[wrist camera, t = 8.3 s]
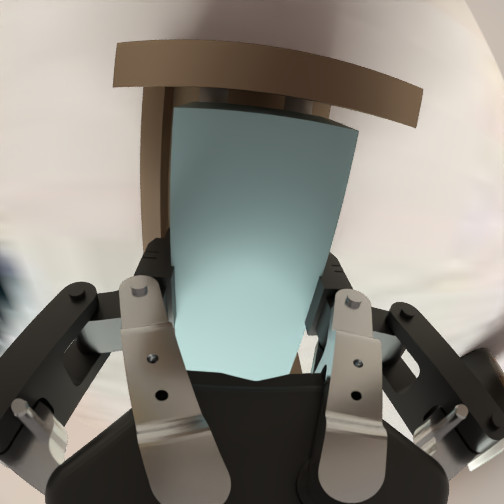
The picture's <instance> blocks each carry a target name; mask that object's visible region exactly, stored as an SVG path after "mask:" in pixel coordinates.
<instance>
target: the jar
mask: <svg viewBox="0 0 504 504" xmlns="http://www.w3.org/2000/svg"><path fill="white" fill-rule="evenodd" d="M461 359H462V361H463V362H464V363H465V364H466V365H467V367H468V368H469V369H470V370H471V371H472V373H473V374H474V375H475V376H476V378H477V379H478V380H479V381H480V383H481V384H482V385H483V386H484V388H485V389H486V390H487V392H488V393H489V394H490V395H491V397H492V398H493V399H494V401H495V402H496V403H497V405H498V406H499V407H500V409H501V410H502V412H503V413H504V372H503V371H502V369H501V367H500V366H499V364H498V363H497V361H496V359H495V358H494V356H493V355H492V353H491V352H490V350H489V349H487V348H481V349H478V350H475V351H473V352H471V353H469V354H467V355H465V356H464V357H462V358H461ZM503 450H504V438H503V439H502V440H500V441H499V442H498V443H497V444H495V445H494V446H493V447H491V448H490V449H489V450H487V451H486V452H485V453H483V454H482V455H480V456H479V457H477V458H476V459H475V460H473V461H472V462H470V463H469V464H467V465H468V467H469V470H470V471H472V470H474V469H476V468H478V467H479V466H481V465H483V464H484V463H486V462H488V461H489V460H491V459H492V458H493V457H495V456H496V455H498V454H499V453H501V452H502V451H503Z"/></svg>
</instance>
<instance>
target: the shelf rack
mask: <svg viewBox="0 0 504 504" xmlns="http://www.w3.org/2000/svg"><path fill="white" fill-rule="evenodd" d="M144 86H155V87H144ZM113 87H143V101H142V118H141V147H140V189H141V219H142V237H143V251H144V252H145V250H146V247H147V245H148V243H150V242H151V241H152V240H154V239H155V238H165V235H166V233H167V231H168V228H169V227H170V176H171V147H172V128H173V113H174V107H177V106H180V105H184V104H187V103H190V102H193V101H197V102H215V103H229V104H240V105H250V106H259V107H267V108H274V109H282V110H288V111H295V112H301V113H306V114H312V115H317V116H321V117H324V118H327V119H328V118H329V112H330V107H331V105H333V106H338V107H342V108H346V109H351V110H355V111H359V112H363V113H367V114H370V115H374V116H378V117H381V118H385V119H388V120H392V121H395V122H398V123H402V124H405V125H408V126H411V127H414V128H416V126H417V121H418V116H419V111H420V106H421V100H422V95H423V89H422V88H419V87H417V86H415V85H412V84H410V83H407V82H405V81H402V80H399V79H397V78H394V77H391V76H389V75H386V74H383V73H380V72H377V71H374V70H371V69H368V68H365V67H361V66H358V65H355V64H351V63H348V62H344V61H340V60H337V59H333V58H329V57H325V56H320V55H316V54H311V53H307V52H302V51H297V50H291V49H286V48H280V47H273V46H266V45H259V44H251V43H241V42H230V41H215V40H147V41H133V42H122V43H117V48H116V57H115V67H114V78H113ZM173 329H174V332H175V327H174V328H173ZM289 374H302V370H301V366H300V361H299V356H298V352H297V354H296V357H295V360H294V362H293V365H292V368H291V370H290V373H289Z"/></svg>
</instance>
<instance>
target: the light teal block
mask: <svg viewBox="0 0 504 504" xmlns="http://www.w3.org/2000/svg"><path fill="white" fill-rule="evenodd" d="M358 132H359V131H358V130H355V129H353V128H350V127H348V126H345V125H343V124H340V123H338V122H335V121H332V120H330V119H327V118H324V117H321V116H317V115H312V114H306V113H301V112H295V111H288V110H282V109H274V108H267V107H259V106H250V105H240V104H229V103H215V102H197V101H193V102H190V103H187V104H184V105H180V106H177V107H174V113H173V128H172V147H171V176H170V247H171V266H175V295H176V315H177V316H176V322H175V336H176V339H177V342H178V345H179V349H180V352H181V355H182V358H183V361H184V364H185V367H186V370H192V371H205V372H221V373H224V374H228V375H232V376H236V377H240V378H244V379H248V380H253V381H260V380H265V379H269V378H274V377H278V376H283V375H287V374H289V373H290V370H291V368H292V365H293V362H294V360H295V357H296V354H297V351H298V349H299V346H300V343H301V340H302V337H303V334H304V331H305V328H306V326H305V320H306V317H307V314H308V311H309V308H310V305H311V302H312V298H313V295H314V292H315V289H316V286H317V282H318V279H319V276H322V275H323V272H324V269H325V265H326V262H327V259H328V255H329V252H330V248H331V245H332V241H333V237H334V234H335V230H336V226H337V223H338V219H339V215H340V211H341V207H342V203H343V199H344V195H345V191H346V187H347V183H348V178H349V174H350V170H351V165H352V161H353V156H354V152H355V147H356V142H357V137H358Z"/></svg>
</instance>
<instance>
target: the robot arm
mask: <svg viewBox="0 0 504 504" xmlns="http://www.w3.org/2000/svg"><path fill="white" fill-rule="evenodd" d="M176 316H177V315H176V295H175V266H171V247H170V227H169V228H168V231H167V233H166V235H165V238H155V239H154V240H152V241H151V242H150V243H148V245H147V247H146V250H145V252H144V254H143V256H142V258H141V261H140V263H139V265H138V267H137V269H136V272H135V274H134V276H133V277H130V278H127V279H126V280H124V281H123V282H122V283H121V285H120V287H119V290H118V291H114V292H107V293H99V294H97V291H96V288H95V287H94V286H93V285H92V284H90V283H87V282H76V283H72V284H70V285H68V286H66V287H65V288H64V289H63V290H62V291H61V292H60V293H59V294H58V295H57V296H56V297H55V298H54V299H53V300H52V301H51V302H50V303H49V304H48V305H47V306H46V307H45V308H44V309H43V310H42V311H41V312H40V313H39V314H38V315H37V316H36V318H35V319H34V320H33V321H32V322H31V323H30V324H29V325H28V326H27V327H26V328H25V330H24V331H23V332H22V333H21V334H20V335H19V336H18V337H17V339H16V340H15V341H14V342H13V343H12V344H11V346H10V347H9V348H8V349H7V350H6V351H5V353H4V354H3V355H2V356H1V357H0V463H1V464H3V465H4V466H6V467H8V468H10V469H12V470H13V471H14V472H15V473H16V474H17V475H19V476H20V477H21V478H22V479H24V480H25V481H26V482H28V483H29V484H30V485H31V486H33V487H34V488H35V489H37V490H38V491H40V492H41V493H42V494H44V495H45V503H46V504H447V501H448V495H449V481H450V480H451V479H452V478H453V477H454V476H455V475H456V474H458V473H459V472H460V471H461V470H462V469H463V468H464V467H465V466H466V465H467V464H469V463H470V462H472V461H473V460H475V459H476V458H477V457H479V456H480V455H482V454H483V453H485V452H486V451H487V450H489V449H490V448H491V447H493V446H494V445H495V444H497V443H498V442H499V441H500V440H502V439H503V438H504V413H503V412H502V410H501V409H500V407H499V406H498V405H497V403H496V402H495V401H494V399H493V398H492V397H491V395H490V394H489V393H488V392H487V390H486V389H485V388H484V386H483V385H482V384H481V383H480V381H479V380H478V379H477V378H476V376H475V375H474V374H473V373H472V371H471V370H470V369H469V368H468V367H467V365H466V364H465V363H464V362H463V361H462V359H461V358H460V357H459V356H458V355H457V353H456V352H455V351H454V350H453V349H452V348H451V346H450V345H449V344H448V343H447V342H446V341H445V340H444V338H443V337H442V336H441V335H440V334H439V333H438V332H437V331H436V329H435V328H434V327H433V326H432V325H431V324H430V323H429V322H428V321H427V319H426V318H425V317H424V316H423V315H422V314H421V313H420V312H419V311H418V310H417V309H416V308H415V307H413V306H412V305H410V304H407V303H404V302H396V303H394V304H393V305H392V306H391V308H390V310H389V311H386V310H382V309H377V308H374V307H371V302H370V300H369V299H368V298H367V297H366V296H365V295H364V294H363V293H361V292H359V291H357V290H353V288H352V286H351V284H350V282H349V280H348V278H347V276H346V275H345V273H344V271H343V269H342V267H341V265H340V263H339V261H338V259H337V258H336V257H335V256H334V255H333V254H331V253H330V252H329V255H328V259H327V262H326V265H325V269H324V272H323V275H322V276H319V279H318V282H317V286H316V289H315V292H314V295H313V298H312V302H311V305H310V308H309V311H308V314H307V317H306V320H305V326H306V330H307V334H308V335H318V342H317V344H316V347H315V353H314V358H313V363H312V369H311V373H306V374H287V375H283V376H278V377H274V378H269V379H265V380H260V381H253V380H248V379H244V378H240V377H236V376H232V375H228V374H224V373H221V372H205V371H192V370H186V367H185V364H184V361H183V358H182V355H181V352H180V349H179V345H178V342H177V339H176V336H175V332H174V329H173V328H174V327H175V322H176ZM73 340H74V341H73ZM71 343H72V344H71ZM70 344H71V345H70ZM69 345H70V346H69ZM67 348H68V349H67ZM66 349H67V350H66ZM406 349H407V351H408V352H409V353H410V354H411V356H412V357H413V358H414V360H415V361H416V362H417V363H418V365H419V368H420V374H419V376H418V378H416V377H415V375H414V374H413V373H412V371H411V370H410V369H409V367H408V366H407V365H406V363H405V362H404V361H403V359H402V358H401V356H402V354H403V353H404V351H405V350H406ZM122 350H123V357H124V364H125V371H126V377H127V383H128V389H129V395H130V400H131V406H132V408H131V409H130V410H129V411H127V412H126V413H125V414H124V415H123V416H121V417H120V418H119V419H118V420H116V421H115V422H114V423H113V424H111V425H110V426H109V427H108V428H107V429H105V430H104V431H103V432H102V433H100V434H99V435H98V436H97V437H95V438H94V439H93V440H91V441H90V442H89V443H88V444H86V445H85V446H84V447H82V448H81V449H80V450H79V451H77V452H76V453H75V454H73V455H72V456H71V457H70V458H68V459H67V460H66V461H65V459H64V453H65V451H66V446H67V442H68V436H67V432H66V430H65V428H64V426H65V425H66V423H67V421H68V420H69V418H70V416H71V415H72V413H73V411H74V410H75V408H76V407H77V405H78V403H79V402H80V400H81V399H82V397H83V395H84V394H85V392H86V391H87V389H88V387H89V386H90V384H91V383H92V381H93V380H94V378H95V376H96V375H97V373H98V372H99V370H100V369H101V367H102V366H103V364H104V363H105V361H106V360H107V358H108V357H109V355H110V353H111V352H114V351H122ZM64 352H65V353H64ZM382 389H383V391H384V392H385V394H386V395H387V397H388V398H389V400H390V401H391V403H392V404H393V406H394V407H395V409H396V410H397V412H398V413H399V415H400V416H401V418H402V419H403V421H404V422H405V424H406V426H407V427H408V429H409V430H410V432H411V433H412V435H413V441H414V443H413V442H412V441H410V440H409V439H408V438H406V437H405V436H404V435H402V434H401V433H400V432H398V431H397V430H396V429H395V428H393V427H392V426H391V425H389V424H388V423H387V422H386V421H384V420H383V419H382Z"/></svg>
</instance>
